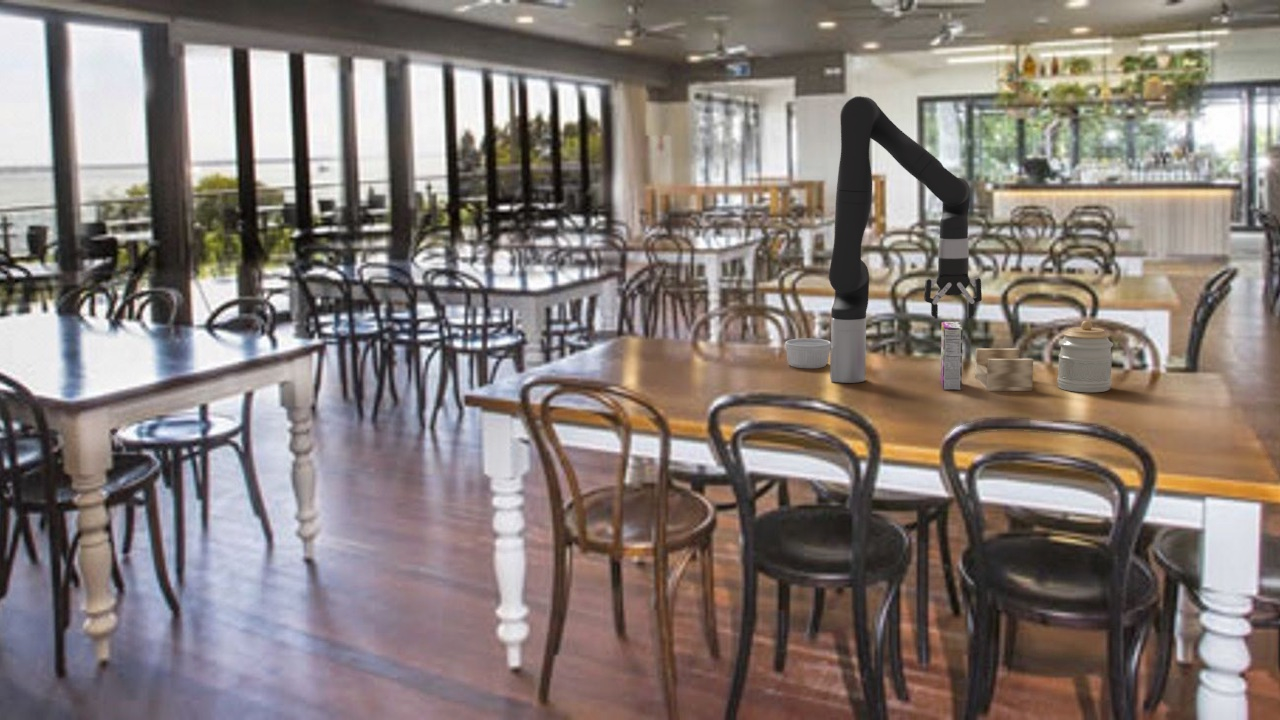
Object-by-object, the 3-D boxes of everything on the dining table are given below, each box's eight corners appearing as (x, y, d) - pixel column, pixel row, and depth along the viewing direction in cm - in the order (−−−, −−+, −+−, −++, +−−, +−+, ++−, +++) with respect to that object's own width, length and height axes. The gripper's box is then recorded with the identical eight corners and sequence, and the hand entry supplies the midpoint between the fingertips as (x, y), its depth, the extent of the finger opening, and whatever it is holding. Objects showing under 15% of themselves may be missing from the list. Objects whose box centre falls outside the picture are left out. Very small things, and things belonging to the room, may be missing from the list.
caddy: (988, 390, 294) (989, 360, 293) (974, 377, 312) (975, 348, 310) (1032, 390, 293) (1033, 360, 292) (1016, 377, 311) (1017, 348, 309)
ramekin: (833, 369, 329) (834, 345, 327) (788, 369, 329) (788, 345, 328) (827, 361, 342) (827, 338, 340) (782, 361, 342) (782, 338, 341)
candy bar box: (939, 382, 307) (940, 321, 304) (958, 382, 306) (960, 321, 303) (941, 390, 296) (943, 327, 293) (961, 390, 295) (963, 327, 292)
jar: (1070, 381, 304) (1073, 315, 301) (1119, 387, 295) (1123, 319, 292) (1048, 389, 295) (1050, 321, 292) (1097, 395, 286) (1101, 325, 283)
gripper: (927, 257, 292) (926, 320, 295) (984, 256, 290) (983, 319, 293) (923, 255, 299) (922, 316, 302) (978, 254, 298) (977, 315, 301)
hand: (952, 318), depth 298 cm, fingers open, 8 cm apart
